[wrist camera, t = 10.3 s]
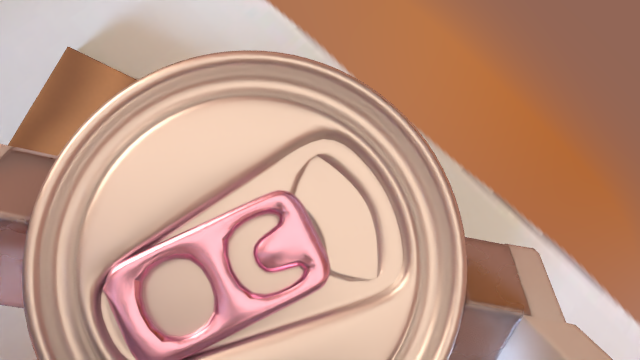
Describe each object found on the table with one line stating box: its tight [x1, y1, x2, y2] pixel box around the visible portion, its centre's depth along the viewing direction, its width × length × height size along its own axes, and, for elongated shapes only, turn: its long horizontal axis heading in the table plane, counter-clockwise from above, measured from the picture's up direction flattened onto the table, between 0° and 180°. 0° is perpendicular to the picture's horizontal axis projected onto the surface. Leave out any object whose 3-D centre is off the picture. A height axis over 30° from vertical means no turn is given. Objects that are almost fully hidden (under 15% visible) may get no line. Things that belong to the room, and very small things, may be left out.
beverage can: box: [22, 51, 467, 360], centre depth 14 cm, size 6×6×15 cm
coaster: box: [8, 47, 137, 156], centre depth 37 cm, size 11×10×1 cm
